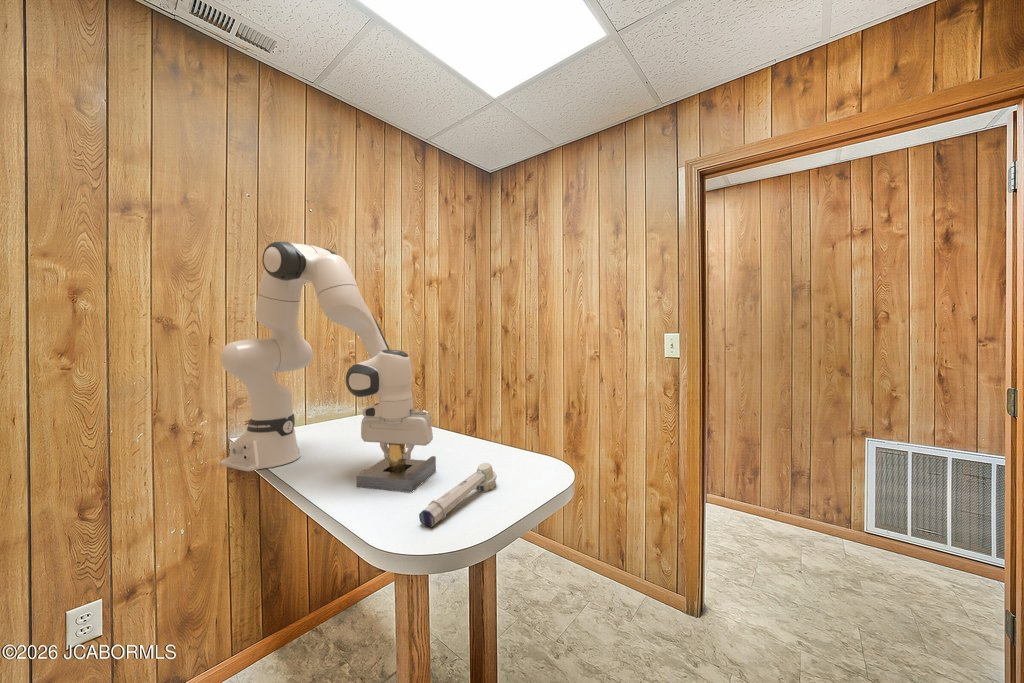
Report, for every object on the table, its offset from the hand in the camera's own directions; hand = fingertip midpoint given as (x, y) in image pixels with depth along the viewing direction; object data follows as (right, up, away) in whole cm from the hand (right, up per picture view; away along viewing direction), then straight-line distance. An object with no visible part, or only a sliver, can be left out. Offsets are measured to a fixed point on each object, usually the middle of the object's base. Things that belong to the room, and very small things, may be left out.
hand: (397, 458), depth 101 cm
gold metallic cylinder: (0, -4, 0) cm, 4 cm away
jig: (0, -6, 0) cm, 6 cm away
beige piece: (+20, -6, -14) cm, 25 cm away
